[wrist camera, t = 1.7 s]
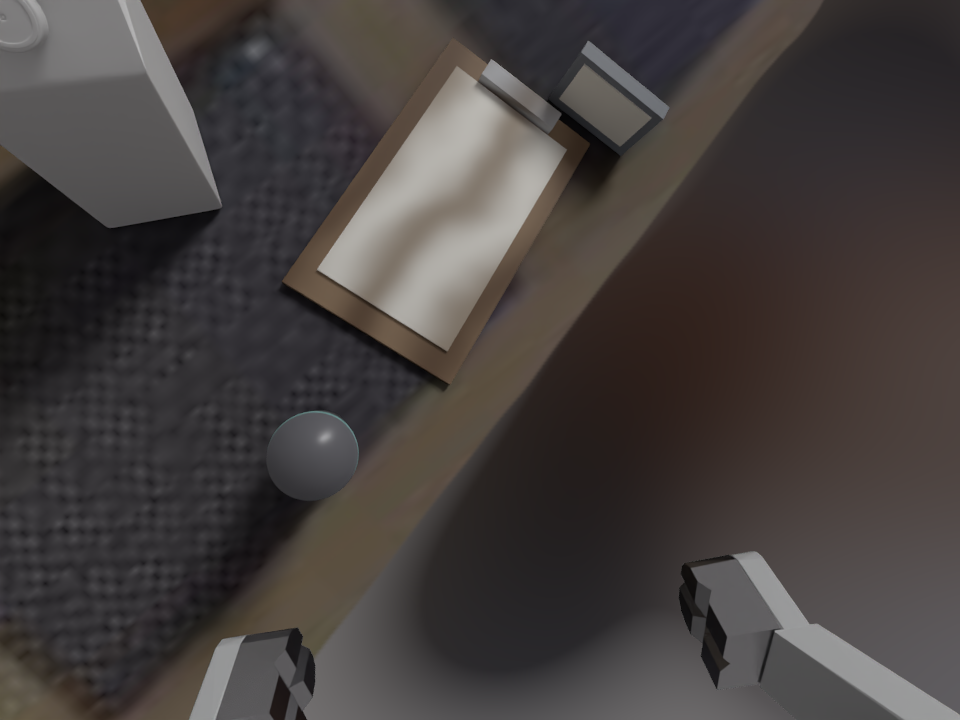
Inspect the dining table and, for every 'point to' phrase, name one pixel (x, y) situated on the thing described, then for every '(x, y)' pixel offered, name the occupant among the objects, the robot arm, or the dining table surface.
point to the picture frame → (607, 100)
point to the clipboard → (441, 213)
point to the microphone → (312, 455)
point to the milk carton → (100, 110)
